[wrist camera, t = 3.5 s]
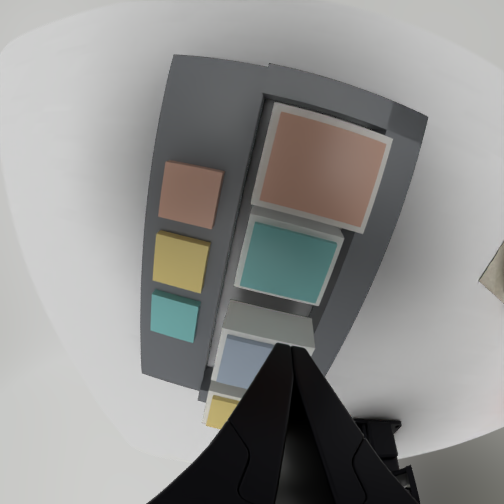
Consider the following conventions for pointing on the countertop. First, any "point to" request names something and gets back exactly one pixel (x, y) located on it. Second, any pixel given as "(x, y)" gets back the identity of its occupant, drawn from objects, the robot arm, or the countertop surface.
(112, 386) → the countertop surface
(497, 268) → the condiment
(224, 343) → the key slate
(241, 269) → the key teal
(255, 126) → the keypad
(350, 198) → the block
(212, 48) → the countertop surface
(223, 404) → the key mustard
